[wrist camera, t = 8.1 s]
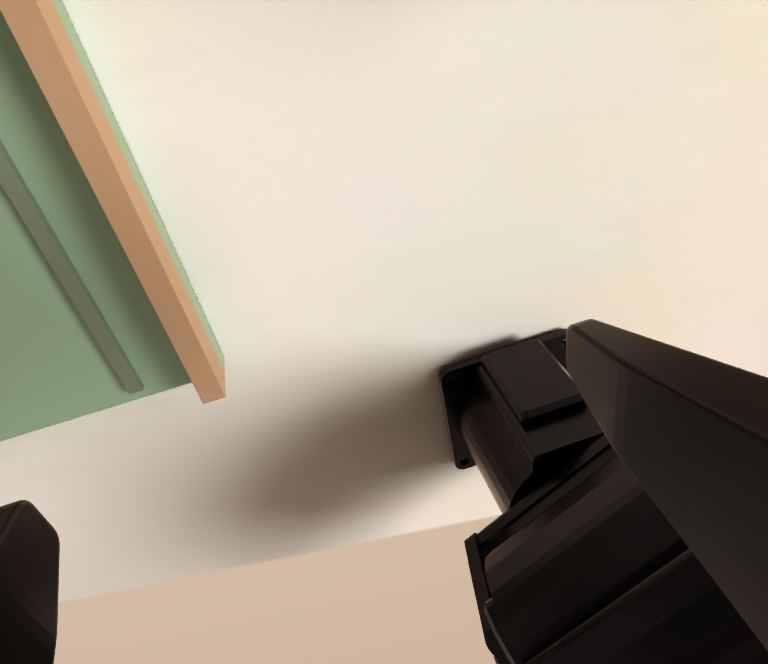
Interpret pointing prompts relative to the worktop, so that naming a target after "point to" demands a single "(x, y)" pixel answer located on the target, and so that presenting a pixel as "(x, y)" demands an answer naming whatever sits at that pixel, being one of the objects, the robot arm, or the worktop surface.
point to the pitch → (81, 245)
